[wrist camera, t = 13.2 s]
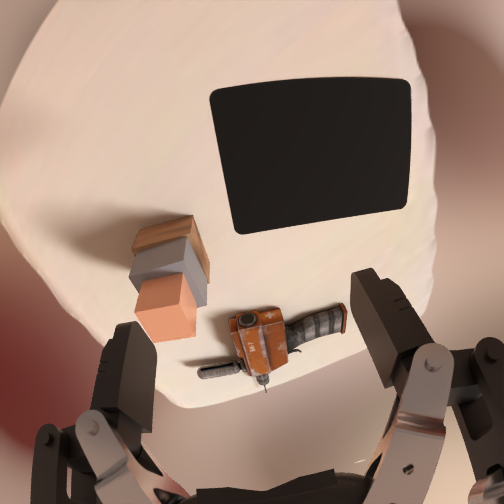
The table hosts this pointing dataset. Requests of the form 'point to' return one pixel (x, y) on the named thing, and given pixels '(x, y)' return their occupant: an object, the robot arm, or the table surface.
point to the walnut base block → (174, 238)
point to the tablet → (313, 149)
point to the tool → (272, 340)
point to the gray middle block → (171, 267)
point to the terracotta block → (167, 308)
